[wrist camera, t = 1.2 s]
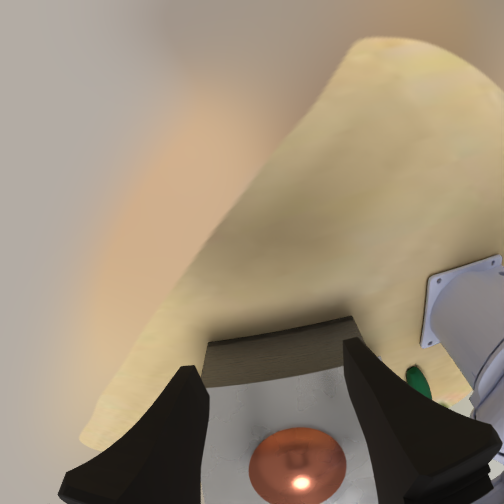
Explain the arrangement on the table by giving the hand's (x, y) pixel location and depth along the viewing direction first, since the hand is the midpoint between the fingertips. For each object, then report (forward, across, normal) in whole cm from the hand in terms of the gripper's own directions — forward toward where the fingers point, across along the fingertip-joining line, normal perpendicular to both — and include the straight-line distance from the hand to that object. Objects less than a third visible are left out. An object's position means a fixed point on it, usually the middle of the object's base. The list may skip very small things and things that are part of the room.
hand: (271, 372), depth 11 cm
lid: (0, 0, +10) cm, 10 cm away
